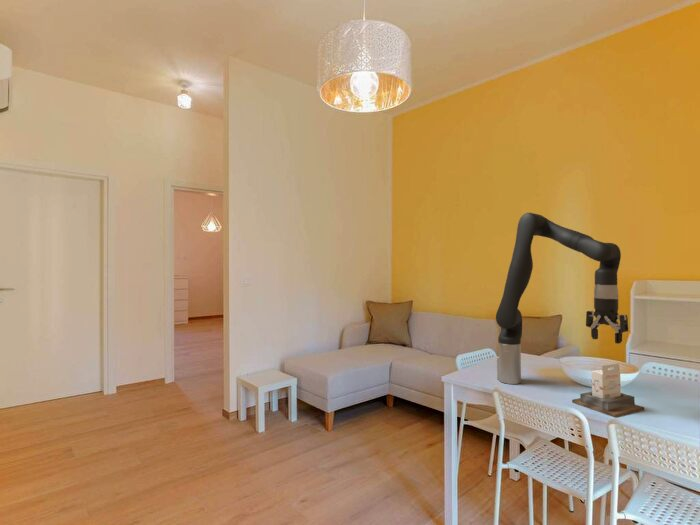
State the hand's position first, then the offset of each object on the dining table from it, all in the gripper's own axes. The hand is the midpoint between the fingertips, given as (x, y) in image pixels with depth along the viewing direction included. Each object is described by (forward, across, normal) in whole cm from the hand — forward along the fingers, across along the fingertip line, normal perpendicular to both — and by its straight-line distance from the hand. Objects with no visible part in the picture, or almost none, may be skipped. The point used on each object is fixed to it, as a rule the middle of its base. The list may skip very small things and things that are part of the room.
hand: (606, 341), depth 146 cm
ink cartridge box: (+23, 0, 0) cm, 23 cm away
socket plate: (+24, 0, 0) cm, 24 cm away
